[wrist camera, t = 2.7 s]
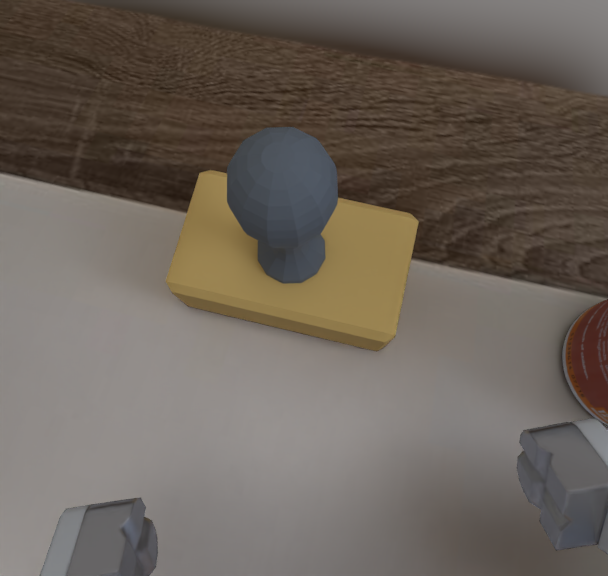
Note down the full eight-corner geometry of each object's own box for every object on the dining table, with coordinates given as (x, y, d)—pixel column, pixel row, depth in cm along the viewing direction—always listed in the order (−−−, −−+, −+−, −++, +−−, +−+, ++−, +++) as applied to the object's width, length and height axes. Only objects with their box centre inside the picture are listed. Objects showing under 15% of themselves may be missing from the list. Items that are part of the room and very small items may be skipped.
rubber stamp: (183, 306, 25) (70, 213, 14) (215, 198, 27) (138, 30, 15) (383, 353, 25) (444, 299, 13) (406, 240, 26) (482, 98, 14)
